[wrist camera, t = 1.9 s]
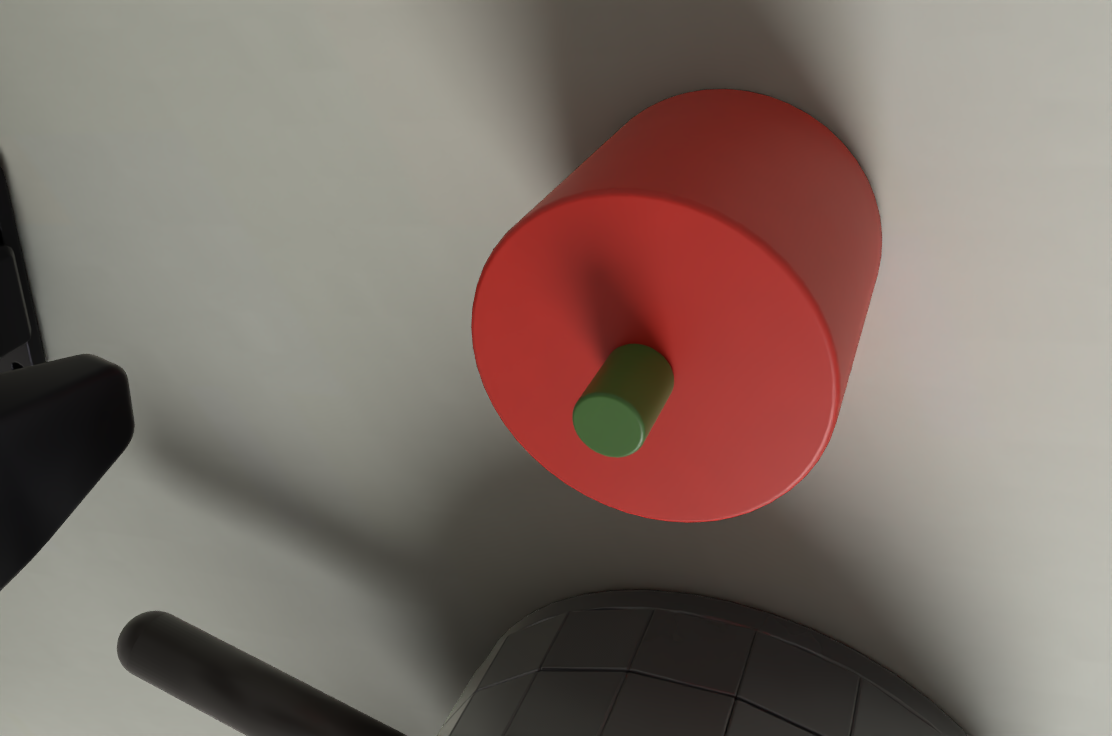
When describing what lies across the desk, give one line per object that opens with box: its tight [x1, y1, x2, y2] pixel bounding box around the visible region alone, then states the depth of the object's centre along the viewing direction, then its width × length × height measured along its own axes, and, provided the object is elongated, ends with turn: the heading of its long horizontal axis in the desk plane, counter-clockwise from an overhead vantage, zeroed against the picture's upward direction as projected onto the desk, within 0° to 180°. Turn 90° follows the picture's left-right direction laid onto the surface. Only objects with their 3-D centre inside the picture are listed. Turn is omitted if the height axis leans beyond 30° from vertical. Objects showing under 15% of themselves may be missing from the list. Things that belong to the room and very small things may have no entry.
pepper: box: [471, 89, 882, 523], centre depth 13 cm, size 5×5×5 cm
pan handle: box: [117, 611, 406, 736], centre depth 22 cm, size 8×2×2 cm, turn 80°
